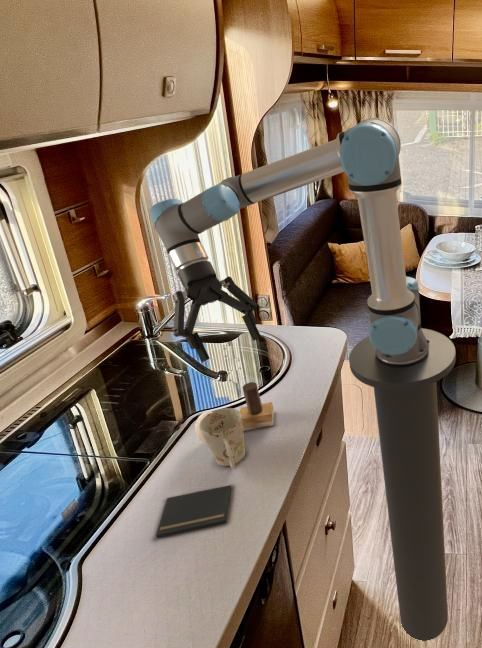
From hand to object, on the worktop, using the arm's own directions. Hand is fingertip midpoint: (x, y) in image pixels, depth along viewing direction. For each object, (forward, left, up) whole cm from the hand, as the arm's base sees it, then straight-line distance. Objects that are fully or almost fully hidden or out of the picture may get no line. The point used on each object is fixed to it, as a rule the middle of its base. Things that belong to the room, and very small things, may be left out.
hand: (232, 349), depth 116 cm
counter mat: (+7, +30, -18) cm, 35 cm away
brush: (-3, +5, -18) cm, 19 cm away
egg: (+7, +9, -18) cm, 21 cm away
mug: (+2, +18, -18) cm, 25 cm away
